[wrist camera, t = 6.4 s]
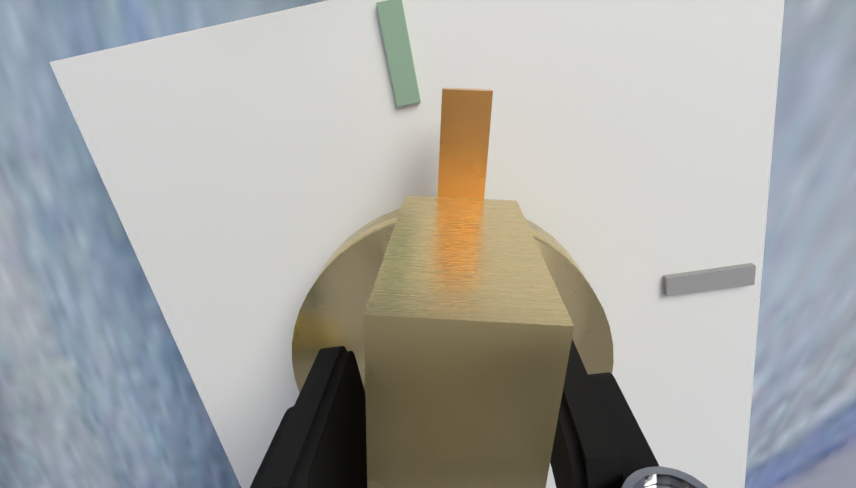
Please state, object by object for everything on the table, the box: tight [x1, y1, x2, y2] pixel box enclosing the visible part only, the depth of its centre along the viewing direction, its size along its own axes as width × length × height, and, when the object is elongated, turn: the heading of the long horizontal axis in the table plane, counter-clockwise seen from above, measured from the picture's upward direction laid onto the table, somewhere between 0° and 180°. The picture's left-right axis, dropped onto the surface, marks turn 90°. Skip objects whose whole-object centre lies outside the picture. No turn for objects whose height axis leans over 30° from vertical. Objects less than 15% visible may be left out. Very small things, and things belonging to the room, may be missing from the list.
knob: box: [292, 87, 614, 488], centre depth 10 cm, size 11×8×8 cm
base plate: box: [49, 0, 784, 488], centre depth 16 cm, size 18×18×3 cm
